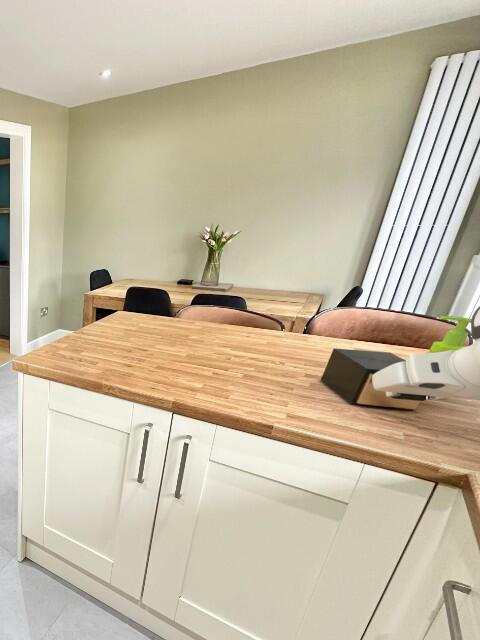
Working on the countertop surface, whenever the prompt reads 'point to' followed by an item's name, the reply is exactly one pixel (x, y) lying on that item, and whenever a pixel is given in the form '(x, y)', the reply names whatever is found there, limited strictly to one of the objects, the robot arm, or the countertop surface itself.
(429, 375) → the robot arm
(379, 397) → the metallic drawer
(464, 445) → the countertop surface
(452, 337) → the soap dispenser
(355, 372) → the black drawer box
